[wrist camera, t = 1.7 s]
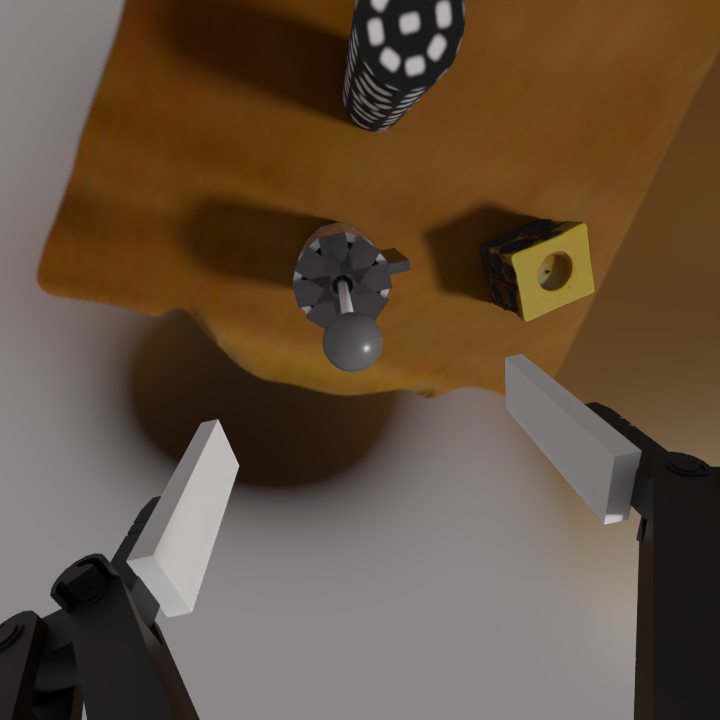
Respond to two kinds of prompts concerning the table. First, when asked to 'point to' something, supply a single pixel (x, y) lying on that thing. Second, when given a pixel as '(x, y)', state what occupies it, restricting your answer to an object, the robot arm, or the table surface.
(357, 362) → the grey ball-topped rod
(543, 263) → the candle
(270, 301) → the table surface
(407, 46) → the spotted tube
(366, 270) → the grey cylinder
